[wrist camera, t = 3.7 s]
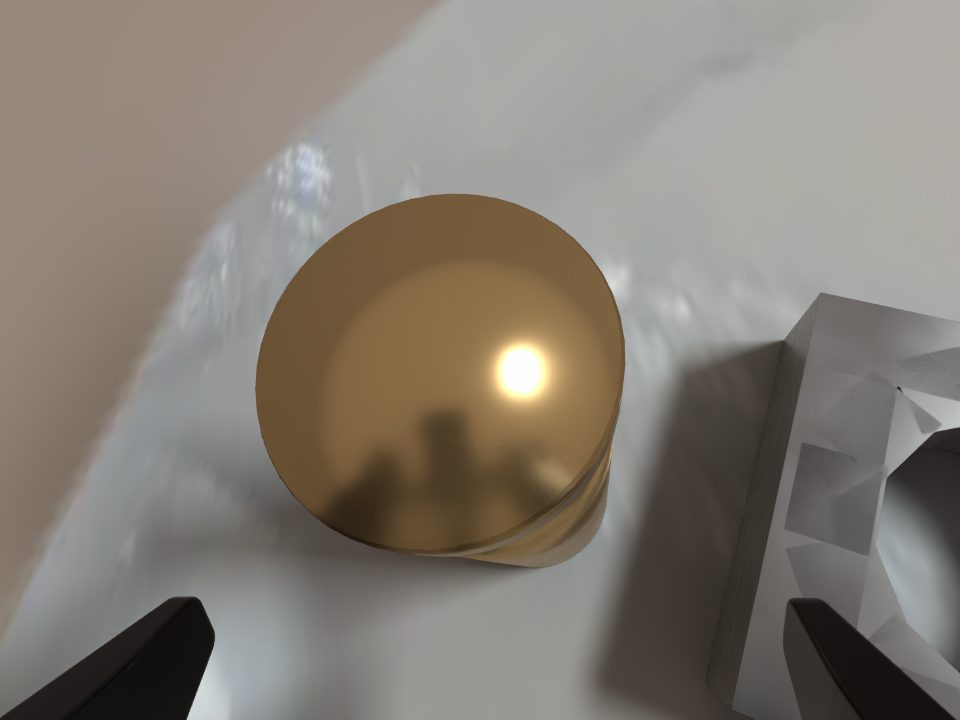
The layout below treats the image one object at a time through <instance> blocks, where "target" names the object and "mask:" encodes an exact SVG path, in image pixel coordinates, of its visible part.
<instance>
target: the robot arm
mask: <svg viewBox="0 0 960 720" xmlns="http://www.w3.org/2000/svg"><path fill="white" fill-rule="evenodd" d="M214 642H215V632H214V629H213V627H212V625H211V622H210V620H209V618H208V616H207V614H206V611H205V609H204V607H203V605H202V603H201V601H200V600H199V599H198V598H196V597H173V598H170V599H168V600H167V601H165V602H164V603H162V604H161V605H160V606H158V607H157V608H155V609H154V610H153V611H151V612H150V613H148V614H147V615H145V616H144V617H143V618H141V619H140V620H138V621H137V622H135V623H134V624H133V625H131V626H130V627H128V628H127V629H126V630H124V631H123V632H121V633H120V634H118V635H117V636H116V637H114V638H113V639H111V640H110V641H109V642H107V643H106V644H104V645H103V646H101V647H100V648H99V649H97V650H96V651H94V652H93V653H91V654H90V655H89V656H87V657H86V658H84V659H83V660H82V661H80V662H79V663H77V664H76V665H74V666H73V667H72V668H70V669H69V670H67V671H66V672H65V673H63V674H62V675H60V676H59V677H57V678H56V679H55V680H53V681H52V682H50V683H49V684H47V685H46V686H45V687H43V688H42V689H40V690H39V691H38V692H36V693H35V694H33V695H32V696H30V697H29V698H28V699H26V700H25V701H23V702H22V703H21V704H19V705H18V706H16V707H15V708H13V709H12V710H11V711H9V712H8V713H6V714H5V715H3V716H2V717H1V718H0V720H187V717H188V714H189V712H190V709H191V706H192V704H193V701H194V698H195V696H196V693H197V690H198V688H199V685H200V682H201V680H202V677H203V674H204V672H205V669H206V666H207V663H208V661H209V658H210V655H211V653H212V650H213V647H214ZM783 650H784V656H785V660H786V663H787V667H788V671H789V674H790V678H791V682H792V685H793V689H794V693H795V696H796V700H797V704H798V707H799V711H800V715H801V718H802V720H957V719H956V718H955V717H954V716H952V715H951V714H950V713H949V712H948V711H947V710H946V709H945V708H944V707H942V706H941V705H940V704H939V703H938V702H937V701H936V700H935V699H934V698H932V697H931V696H930V695H929V694H928V693H927V692H926V691H925V690H923V689H922V688H921V687H920V686H919V685H918V684H917V683H916V682H915V681H913V680H912V679H911V678H910V677H909V676H908V675H907V674H906V673H904V672H903V671H902V670H901V669H900V668H899V667H898V666H897V665H896V664H894V663H893V662H892V661H891V660H890V659H889V658H888V657H887V656H886V655H884V654H883V653H882V652H881V651H880V650H879V649H878V648H877V647H875V646H874V645H873V644H872V643H871V642H870V641H869V640H868V639H867V638H865V637H864V636H863V635H862V634H861V633H860V632H859V631H858V630H856V629H855V628H854V627H853V626H852V625H851V624H850V623H849V622H848V621H846V620H845V619H844V618H843V617H842V616H841V615H840V614H839V613H838V612H836V611H835V610H834V609H833V608H832V607H831V606H830V605H829V604H827V603H826V602H825V601H823V600H822V599H819V598H791V599H789V600H788V602H787V605H786V613H785V622H784V631H783Z"/></svg>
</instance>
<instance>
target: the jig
mask: <svg viewBox="0 0 960 720" xmlns="http://www.w3.org/2000/svg"><path fill="white" fill-rule="evenodd" d="M929 447H937V448H940V449H944V450H948V451H952V452H955V453H959V454H960V322H957V321H952V320H947V319H942V318H938V317H933V316H928V315H924V314H919V313H914V312H910V311H905V310H900V309H896V308H891V307H886V306H882V305H877V304H872V303H868V302H863V301H858V300H854V299H849V298H844V297H840V296H835V295H830V294H826V293H820V294H819V296H818V297H817V298H816V300H815V301H814V302H813V303H812V305H811V306H810V307H809V309H808V310H807V311H806V312H805V314H804V315H803V316H802V317H801V319H800V320H799V321H798V323H797V324H796V325H795V326H794V328H793V329H792V330H791V332H790V333H789V334H788V335H787V337H786V338H785V339H784V344H783V348H782V352H781V357H780V361H779V366H778V370H777V374H776V379H775V383H774V387H773V392H772V396H771V401H770V405H769V409H768V414H767V418H766V422H765V427H764V431H763V436H762V440H761V444H760V449H759V453H758V457H757V462H756V466H755V471H754V475H753V479H752V484H751V488H750V492H749V497H748V501H747V506H746V510H745V514H744V519H743V523H742V527H741V532H740V536H739V541H738V545H737V549H736V554H735V558H734V562H733V567H732V571H731V576H730V580H729V584H728V589H727V593H726V597H725V602H724V606H723V611H722V615H721V619H720V624H719V628H718V632H717V637H716V641H715V646H714V650H713V654H712V659H711V663H710V667H709V672H708V676H707V681H706V685H707V686H708V687H709V688H710V689H711V690H712V691H713V692H714V693H715V694H716V695H717V696H718V697H719V698H720V699H721V700H722V701H723V702H724V703H725V704H726V705H727V706H728V707H729V708H730V709H732V710H734V711H736V712H739V713H741V714H744V715H746V716H748V717H751V718H753V719H756V720H802V718H801V715H800V711H799V707H798V704H797V700H796V696H795V693H794V689H793V685H792V682H791V678H790V674H789V671H788V667H787V663H786V660H785V656H784V650H783V631H784V622H785V613H786V605H787V602H788V600H789V599H791V598H819V599H822V600H823V601H825V602H826V603H827V604H829V605H830V606H831V607H832V608H833V609H834V610H835V611H836V612H838V613H839V614H840V615H841V616H842V617H843V618H844V619H845V620H846V621H848V622H849V623H850V624H851V625H852V626H853V627H854V628H855V629H856V630H858V631H859V632H860V633H861V634H862V635H863V636H864V637H865V638H867V639H868V640H869V641H870V642H871V643H872V644H873V645H874V646H875V647H877V648H878V649H879V650H880V651H881V652H882V653H883V654H884V655H886V656H887V657H888V658H889V659H890V660H891V661H892V662H893V663H894V664H896V665H897V666H898V667H899V668H900V669H901V670H902V671H903V672H904V673H906V674H907V675H908V676H909V677H910V678H911V679H912V680H913V681H915V682H916V683H917V684H918V685H919V686H920V687H921V688H922V689H923V690H925V691H926V692H927V693H928V694H929V695H930V696H931V697H932V698H934V699H935V700H936V701H937V702H938V703H939V704H940V705H941V706H942V707H944V708H945V709H946V710H947V711H948V712H949V713H950V714H951V715H952V716H954V717H955V718H956V719H957V720H960V673H959V672H958V671H957V670H956V669H955V668H954V667H953V666H952V665H951V664H949V663H948V662H947V661H946V660H945V659H944V658H943V657H942V656H941V655H940V654H939V653H938V652H937V651H936V650H935V649H934V648H933V647H931V646H930V645H929V644H928V643H927V642H926V641H925V640H924V639H923V638H922V637H921V636H920V635H919V634H918V633H917V632H916V631H914V630H913V629H912V628H911V627H910V626H909V625H908V624H907V623H906V620H905V618H904V615H903V613H902V610H901V608H900V605H899V603H898V600H897V598H896V595H895V593H894V591H893V588H892V586H891V583H890V581H889V578H888V576H887V573H886V571H885V568H884V566H883V563H882V561H881V558H880V556H879V553H878V551H877V548H876V540H877V534H878V528H879V522H880V516H881V510H882V504H883V498H884V491H885V485H886V479H887V477H888V476H889V475H890V474H891V473H892V472H893V471H894V470H895V469H896V468H897V467H898V466H899V465H900V464H902V463H903V462H904V461H905V460H906V459H907V458H908V457H909V456H910V455H911V454H912V453H913V452H914V451H915V450H919V449H924V448H929Z"/></svg>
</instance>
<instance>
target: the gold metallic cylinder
mask: <svg viewBox="0 0 960 720" xmlns="http://www.w3.org/2000/svg"><path fill="white" fill-rule="evenodd" d="M624 371H625V341H624V334H623V329H622V323H621V318H620V314H619V311H618V308H617V305H616V302H615V299H614V296H613V293H612V291H611V289H610V287H609V285H608V283H607V281H606V279H605V277H604V275H603V274H602V272H601V271H600V269H599V268H598V266H597V265H596V264H595V262H594V261H593V259H592V258H591V256H590V255H589V254H588V253H587V252H586V251H585V250H584V249H583V248H582V247H581V245H580V244H579V243H578V242H577V241H576V240H575V239H574V238H573V237H571V236H570V235H569V234H568V233H566V232H565V231H564V230H563V229H561V228H560V227H559V226H558V225H556V224H554V223H553V222H551V221H549V220H548V219H546V218H544V217H543V216H541V215H539V214H537V213H536V212H533V211H531V210H529V209H526V208H524V207H522V206H520V205H517V204H514V203H511V202H507V201H504V200H501V199H497V198H492V197H486V196H480V195H470V194H443V195H431V196H425V197H420V198H415V199H410V200H406V201H403V202H400V203H396V204H393V205H390V206H387V207H385V208H383V209H380V210H378V211H376V212H373V213H371V214H369V215H367V216H365V217H363V218H361V219H360V220H358V221H356V222H354V223H352V224H351V225H349V226H348V227H346V228H345V229H343V230H342V231H341V232H339V233H338V234H336V235H335V236H333V237H332V238H331V239H330V240H329V241H327V242H326V243H325V244H324V245H323V246H322V247H321V248H319V249H318V250H317V251H316V252H315V253H314V254H313V255H312V256H311V257H310V258H309V259H308V261H307V262H306V263H305V264H304V265H303V266H302V267H301V268H300V270H299V271H298V272H297V274H296V275H295V276H294V277H293V279H292V280H291V281H290V283H289V284H288V286H287V287H286V289H285V291H284V292H283V294H282V296H281V297H280V299H279V301H278V302H277V304H276V306H275V309H274V311H273V313H272V315H271V318H270V320H269V322H268V324H267V327H266V331H265V334H264V337H263V340H262V343H261V347H260V352H259V358H258V363H257V371H256V387H255V390H256V406H257V414H258V419H259V424H260V429H261V434H262V438H263V440H264V443H265V446H266V449H267V452H268V455H269V457H270V459H271V461H272V463H273V465H274V467H275V469H276V471H277V473H278V475H279V477H280V478H281V479H282V481H283V482H284V484H285V485H286V486H287V488H288V489H289V491H290V492H291V493H292V495H293V496H294V497H295V498H296V499H297V500H298V501H299V502H300V503H301V504H302V505H303V506H304V507H305V508H306V509H307V510H308V511H309V512H310V513H311V514H312V515H314V516H315V517H316V518H318V519H319V520H320V521H322V522H323V523H324V524H326V525H327V526H328V527H330V528H331V529H333V530H335V531H337V532H339V533H341V534H343V535H344V536H346V537H348V538H350V539H352V540H355V541H358V542H361V543H364V544H366V545H369V546H372V547H375V548H380V549H385V550H390V551H395V552H400V553H407V554H415V555H423V556H440V557H452V556H457V557H463V558H470V559H476V560H483V561H490V562H496V563H503V564H510V565H516V566H523V567H535V568H537V567H547V566H552V565H556V564H559V563H561V562H564V561H566V560H568V559H570V558H572V557H573V556H575V555H576V554H577V553H579V552H580V551H581V550H583V549H584V548H585V547H586V546H587V545H588V544H589V542H590V541H591V540H592V538H593V537H594V536H595V534H596V533H597V531H598V529H599V527H600V525H601V522H602V520H603V517H604V513H605V509H606V502H607V493H608V484H609V474H610V465H611V455H612V445H613V436H614V432H615V428H616V424H617V420H618V416H619V412H620V405H621V397H622V389H623V380H624Z"/></svg>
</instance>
